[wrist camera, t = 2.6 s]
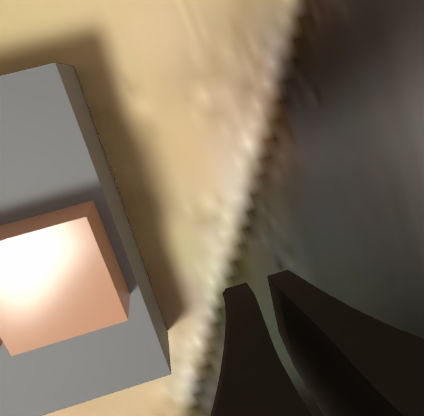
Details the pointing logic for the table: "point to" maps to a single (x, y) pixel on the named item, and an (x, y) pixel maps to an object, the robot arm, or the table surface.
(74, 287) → the tile
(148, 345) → the grey flat block
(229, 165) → the table surface
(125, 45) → the table surface
